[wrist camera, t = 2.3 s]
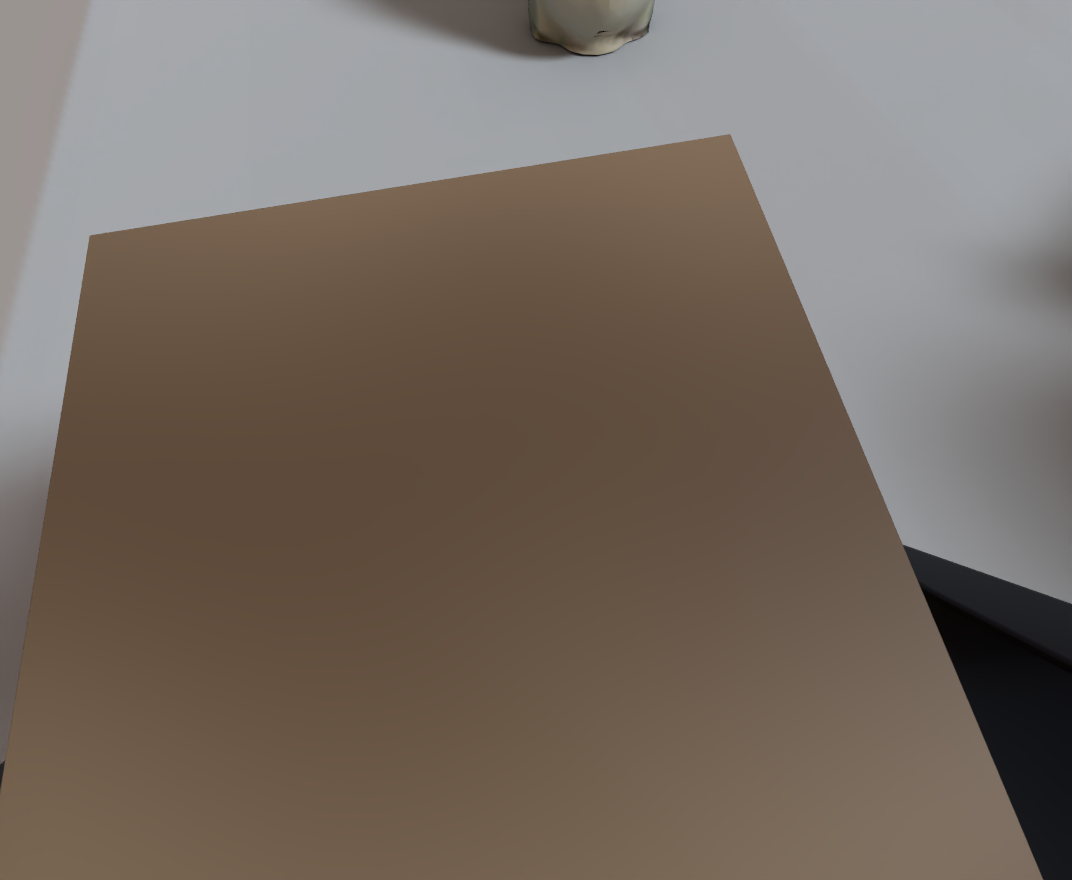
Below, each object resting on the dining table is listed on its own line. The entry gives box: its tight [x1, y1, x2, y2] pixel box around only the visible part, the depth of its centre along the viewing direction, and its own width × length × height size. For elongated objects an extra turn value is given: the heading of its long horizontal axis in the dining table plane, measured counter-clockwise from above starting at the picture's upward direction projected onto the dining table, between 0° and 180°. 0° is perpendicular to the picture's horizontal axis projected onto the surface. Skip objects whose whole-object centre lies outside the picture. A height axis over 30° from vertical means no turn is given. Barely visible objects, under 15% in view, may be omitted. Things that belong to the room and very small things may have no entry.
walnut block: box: [0, 134, 1043, 880], centre depth 9 cm, size 5×5×13 cm
